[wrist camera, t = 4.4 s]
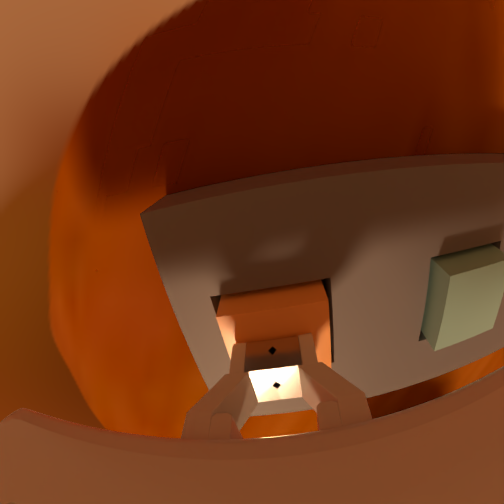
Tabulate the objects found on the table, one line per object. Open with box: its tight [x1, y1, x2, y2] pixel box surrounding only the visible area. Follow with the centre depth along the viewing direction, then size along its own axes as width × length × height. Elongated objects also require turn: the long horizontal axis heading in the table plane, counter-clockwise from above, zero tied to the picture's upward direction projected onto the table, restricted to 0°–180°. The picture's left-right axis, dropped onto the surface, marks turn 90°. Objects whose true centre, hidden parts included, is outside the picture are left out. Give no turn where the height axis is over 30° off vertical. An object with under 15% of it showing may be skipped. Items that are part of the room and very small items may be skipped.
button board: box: [140, 153, 504, 416], centre depth 12 cm, size 26×12×3 cm, turn 101°
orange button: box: [216, 279, 331, 368], centre depth 11 cm, size 4×4×2 cm
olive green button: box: [421, 243, 504, 351], centre depth 10 cm, size 4×4×2 cm
